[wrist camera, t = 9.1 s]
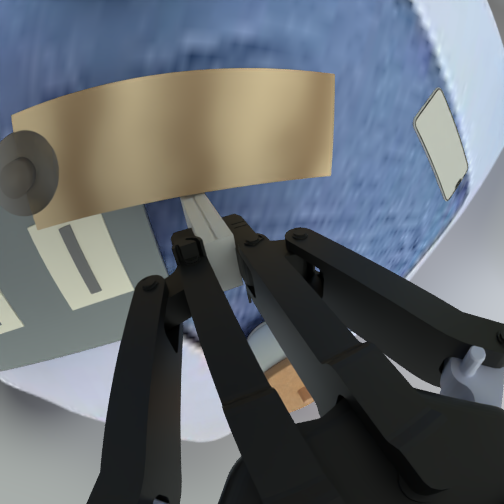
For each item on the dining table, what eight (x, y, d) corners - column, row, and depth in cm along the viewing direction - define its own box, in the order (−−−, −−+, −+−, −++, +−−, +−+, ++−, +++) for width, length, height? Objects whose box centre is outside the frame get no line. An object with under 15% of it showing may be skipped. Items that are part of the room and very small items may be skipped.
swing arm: (17, 225, 14) (0, 249, 11) (-6, 126, 10) (-31, 134, 8) (315, 167, 20) (341, 180, 17) (317, 74, 16) (346, 74, 14)
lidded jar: (221, 316, 28) (255, 394, 20) (317, 289, 31) (367, 348, 23) (230, 375, 33) (257, 438, 26) (307, 350, 36) (343, 403, 29)
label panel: (-87, 227, 10) (-98, 238, 8) (117, 106, 15) (113, 106, 14) (1, 365, 20) (-2, 378, 19) (184, 312, 26) (188, 328, 24)
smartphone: (439, 84, 22) (469, 168, 31) (435, 83, 23) (465, 166, 31) (412, 122, 24) (446, 204, 32) (407, 121, 24) (443, 202, 33)
